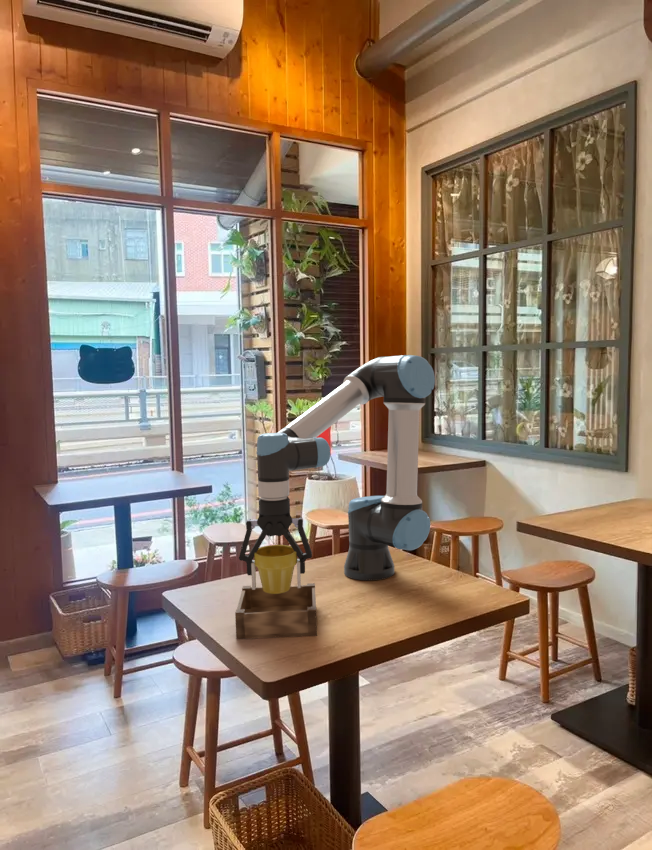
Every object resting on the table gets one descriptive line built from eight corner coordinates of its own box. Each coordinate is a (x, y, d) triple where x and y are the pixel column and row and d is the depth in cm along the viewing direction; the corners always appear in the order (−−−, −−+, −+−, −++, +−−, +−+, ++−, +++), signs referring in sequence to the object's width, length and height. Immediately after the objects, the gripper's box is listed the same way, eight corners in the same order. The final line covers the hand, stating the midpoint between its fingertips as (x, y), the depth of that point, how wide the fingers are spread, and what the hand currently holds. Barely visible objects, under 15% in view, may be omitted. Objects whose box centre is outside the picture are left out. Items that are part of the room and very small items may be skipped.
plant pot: (291, 597, 151) (290, 557, 150) (249, 595, 153) (248, 555, 152) (302, 583, 161) (301, 545, 160) (262, 581, 163) (261, 544, 163)
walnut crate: (315, 606, 168) (314, 583, 167) (317, 635, 149) (316, 609, 148) (243, 609, 167) (242, 586, 166) (236, 638, 148) (235, 612, 148)
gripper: (320, 493, 160) (322, 580, 161) (228, 495, 159) (231, 583, 161) (321, 498, 152) (323, 590, 154) (224, 501, 151) (227, 593, 153)
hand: (276, 587), depth 157 cm, fingers closed on plant pot, 10 cm apart
